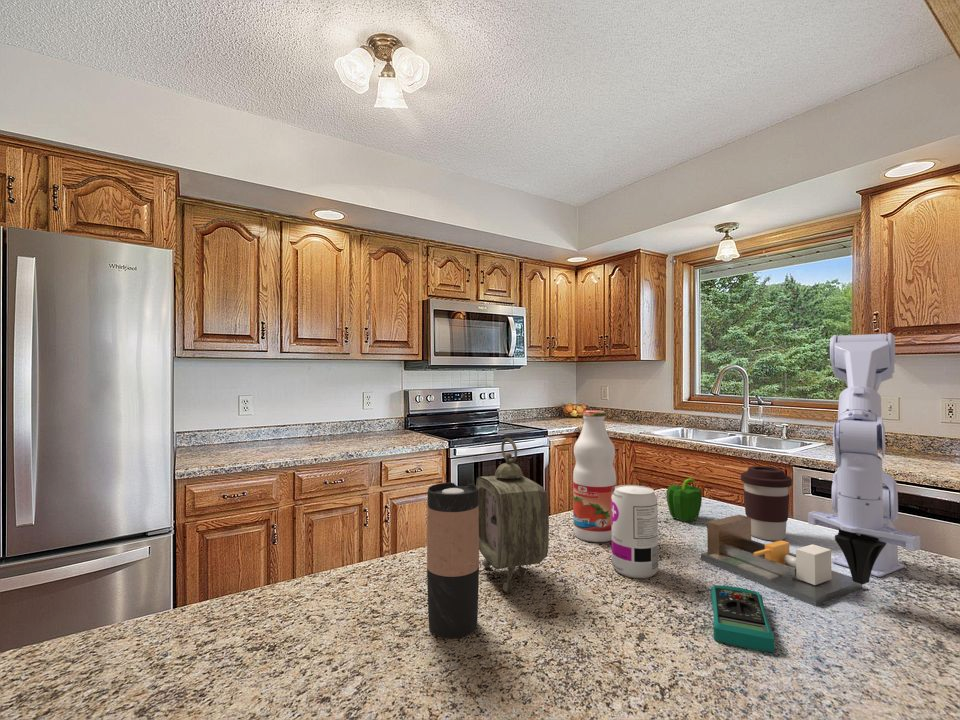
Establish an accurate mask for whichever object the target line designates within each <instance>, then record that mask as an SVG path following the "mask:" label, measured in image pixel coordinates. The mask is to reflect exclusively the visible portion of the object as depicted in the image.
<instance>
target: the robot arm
mask: <svg viewBox="0 0 960 720" xmlns="http://www.w3.org/2000/svg"><path fill="white" fill-rule="evenodd" d="M829 359H830V360H829V361H830V364H831V370H832V373H833V375H834V378H835V379H837V380H838V379H839V380H841V381H843V382H844V383H845V384H846V386H847V388H844V389H842V391H841V392H840V393H839V397H838V410H837V422H834V423H833V426H832V446H833V450H834V458H835V460H834V461H835V462H834V463H835V466H837V468H836V471H835V472H834V474H833V475H832V484H831V508H832V510H833V511H834V512H835V513H836V514H833V513H832V514H831V513H827V512H822V511H818V510H817V511H816V510H812V511H810V512H808V525H813V526H820V527H825V528H829V529H833V530H836V531H838V532H837V534H835V535H834V540H835V542H836V544H837V545H838V547H839V548H840V550H841V551H840V552H841V555H840V556H837V557H833V558H831V563H833V564H837V565H840V566H844V567H847V568H848V569H849V572H850V574H851V577H852V579H853V581H854V582H857V583H860V584H862V585H865V584H868V583H869V582H870V578H871V575H872V576H875V577H878V578H879V577H883V576H887V575H888V574H890V573H893V572H896V571H898V570H901V569H904V568H905V564H903V563H900V562H899V555H898V554H899V552H898V551H899V548H898V547H901V548H905V550H908V551H911V552H916V551H919V550H921V536H920V535H918V534H913V533H911V532H906V531H903V530H900V529H897V528H896V527H895V525H894V524H893V522H896V520H898V519H899V498H898V497H899V495H898V489H897V488H898V487H897V481H896V480H895V478H894V477H893V476H892V475H891V474H888V472H886V471H884V470H883V459H884V458H885V454H886V427H885V424H884V420H883V416H882V414H883V413H882V396H881V394H880V393H879V392H878V391H879V388H880V386H881V384H882V383H883V382H885V381H889V380H890V379H893V374H894V373H895V364H896V336H895V335H894V334H892V332H887V333H876V334H875V333H874V334H873V333H870V334H869V333H868V334H845V335H843V334H842V335H838V334H833V335H832V336H831V337H830V339H829ZM878 450H881V453H882V455H881V456H882V457H881V456H880V455H879V453H878V452H879V451H878Z"/></svg>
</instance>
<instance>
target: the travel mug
mask: <svg viewBox="0 0 960 720" xmlns="http://www.w3.org/2000/svg"><path fill="white" fill-rule="evenodd" d="M426 505H427V506H426V507H427V515H426V516H427V518H426V520H427V521H426V523H427V524H426V526H427V527H426V533H427V534H426V578H427V579H426V582H427V584H426V585H427V588H426V589H427V615H428V616H427V618H428V629H429V630H430V632H431V633H432V634H434V635H435V636H438V637H440V638H443V639H444V638H445V639H460V638H465V637H467V636H469V635H471V634H472V633H474V632H475V631H476V629H477V627H478V617H479V613H478V612H479V586H480V584H479V583H480V579H479V578H480V550H479V509H478V487H477V486H476V484H473V483H468V484H467V485H466V486H459V485H457V484H456V483H454V482H442V483H441V482H440V483H436V484H433V485H430V486H429V487H428V488H427V504H426Z"/></svg>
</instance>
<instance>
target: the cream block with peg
mask: <svg viewBox="0 0 960 720" xmlns="http://www.w3.org/2000/svg"><path fill="white" fill-rule="evenodd" d="M795 554H796V557H794V556H791V555H786V556H785V557H784V565H787V566H790V567H793V568H795V569H796V578H797V579H800V580H802V581H805V582H808V583H810V584H813V585H817V584H820V583H822V582H825V581H828V580H831V579H832V571H833V570H832V561H831V559H832V549H830V548H827V547H823V546H821V545H820V546H819V545H816V544H813V543H812V544H809V545H806V546H800V547H797V548H796V549H795Z"/></svg>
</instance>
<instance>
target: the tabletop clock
mask: <svg viewBox="0 0 960 720" xmlns="http://www.w3.org/2000/svg"><path fill="white" fill-rule="evenodd" d="M506 442H507V443H509V444H511V447H512V448H513V451H514V456H513V455H512V453H507V454H506V452H505V450H504V449H505V444H506ZM500 448H501V455H502V457H503V458H504V460H505V462H504V463H502V464H500V465H499V466H498V467H497V468H496V469H495V472H494V475H489V476H488V475H486V476H485V475H484V476H478V477H477V478H476V482H475V486H477V487H478V509H479V553H480V554H481V555H482V556H483V558H484V559H483V561H482V566H483V568H487V569H488V568H490V567H492V568H493V569H495V570H502V569H507V570H508V571H507V579H506V581H505V582H504V583H503V585H502V588H503V589H502V590H503V591H504V593H510V592H512V591H513V584H512V583H511V581H512V577H513V574H514V571H515V569H516V575H518V576H519V577H524V576H525V574H526V569H525V567H526V566H531V565H537V564H541V563H542V562H543V560H545V558H547V556H548V555H549V554H548V553H549V544H550V540H549V539H550V515H549V514H550V513H549V509H550V508H549V499H548V493H547V491H546V490H545V488H544V487H543V486H541V485H540V484H539V483H537V482H535V481H534V480H532V479H530V478H528V477H525V475H524V474H523V471H522V469H521V468H520V466H519V464H517V463H514V462H516V460H517V458H518V450H517V445H516V442H515V441H514V440H513V439H511V438H509V437H505V438H504V439H502V442H501V447H500ZM523 566H525V567H523Z"/></svg>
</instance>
